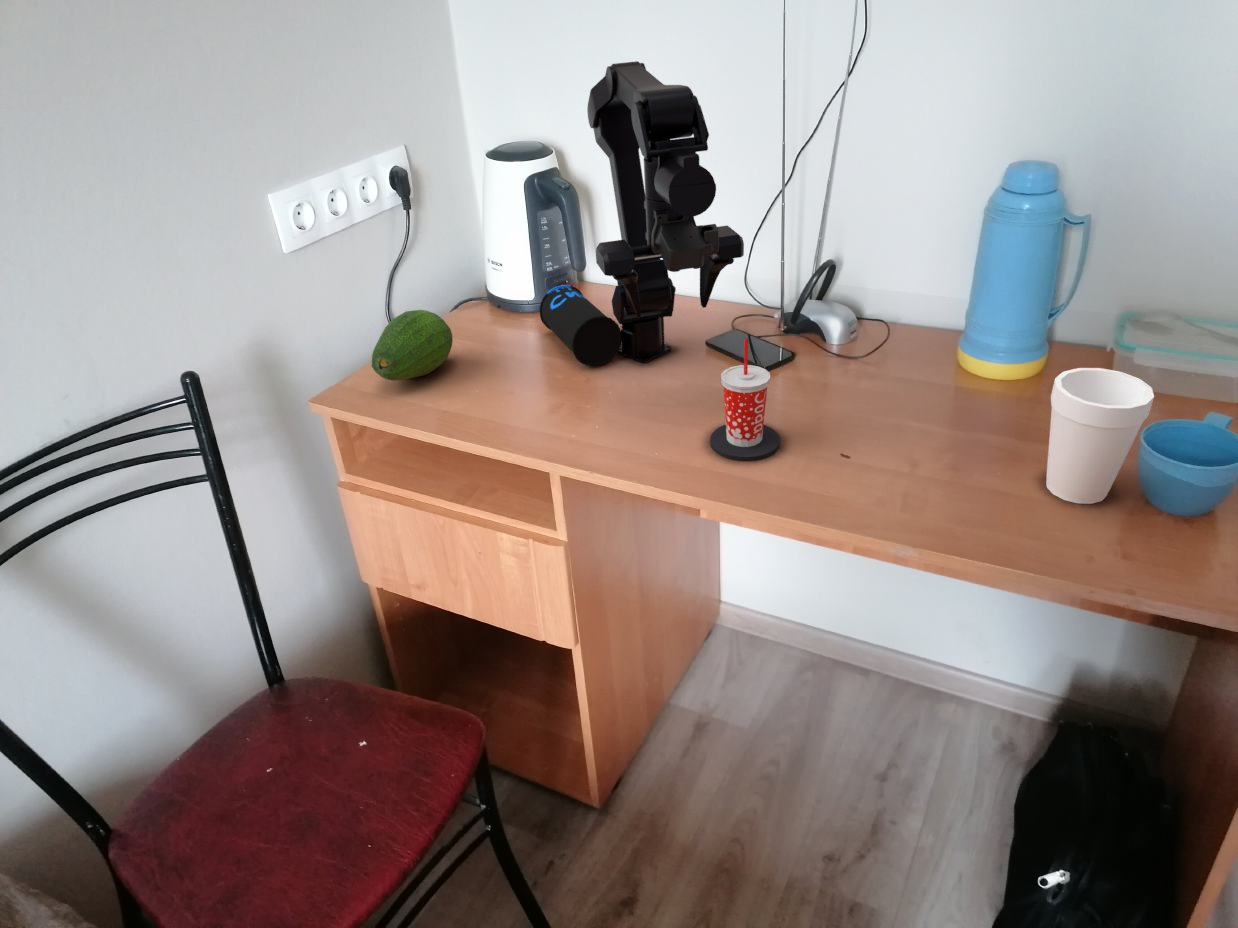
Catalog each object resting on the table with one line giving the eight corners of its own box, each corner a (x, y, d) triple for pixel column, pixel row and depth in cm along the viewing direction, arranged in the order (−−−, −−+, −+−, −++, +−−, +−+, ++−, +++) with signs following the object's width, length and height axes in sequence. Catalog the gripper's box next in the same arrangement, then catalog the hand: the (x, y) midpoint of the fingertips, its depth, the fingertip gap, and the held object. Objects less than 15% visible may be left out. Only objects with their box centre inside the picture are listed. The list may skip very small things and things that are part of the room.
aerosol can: (572, 370, 131) (532, 326, 147) (621, 363, 134) (576, 320, 150) (572, 319, 127) (530, 279, 143) (622, 313, 130) (576, 274, 145)
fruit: (408, 402, 126) (394, 340, 121) (359, 390, 131) (343, 330, 125) (471, 361, 137) (461, 302, 132) (423, 351, 141) (412, 294, 136)
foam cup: (1016, 470, 101) (1038, 371, 94) (1092, 462, 102) (1119, 364, 95) (1058, 516, 93) (1085, 412, 86) (1140, 507, 94) (1173, 403, 87)
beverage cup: (737, 454, 107) (739, 353, 100) (711, 434, 112) (711, 335, 104) (777, 441, 109) (782, 341, 102) (750, 421, 114) (752, 324, 106)
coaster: (740, 418, 116) (740, 414, 116) (794, 440, 110) (794, 436, 110) (695, 444, 111) (695, 440, 111) (750, 469, 105) (750, 464, 105)
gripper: (610, 222, 99) (618, 345, 107) (761, 202, 102) (757, 323, 111) (590, 198, 108) (599, 313, 117) (729, 181, 111) (728, 294, 120)
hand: (671, 311), depth 116 cm, fingers open, 9 cm apart
